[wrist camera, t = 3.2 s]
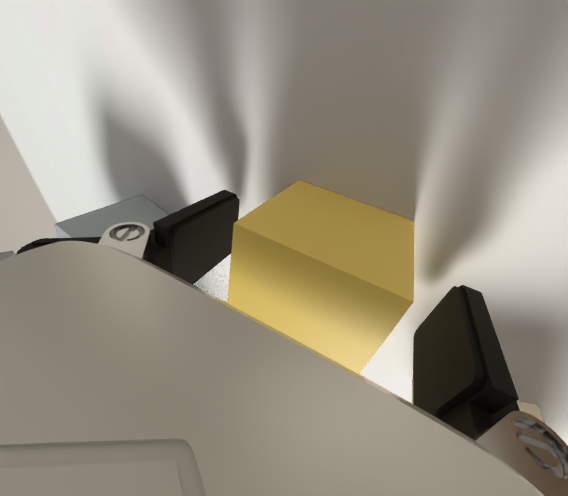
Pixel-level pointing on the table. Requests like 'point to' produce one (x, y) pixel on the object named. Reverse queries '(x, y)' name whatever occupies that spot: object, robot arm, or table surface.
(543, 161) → the table surface
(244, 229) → the mustard cube
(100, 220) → the slate cube
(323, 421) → the robot arm
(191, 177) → the table surface
